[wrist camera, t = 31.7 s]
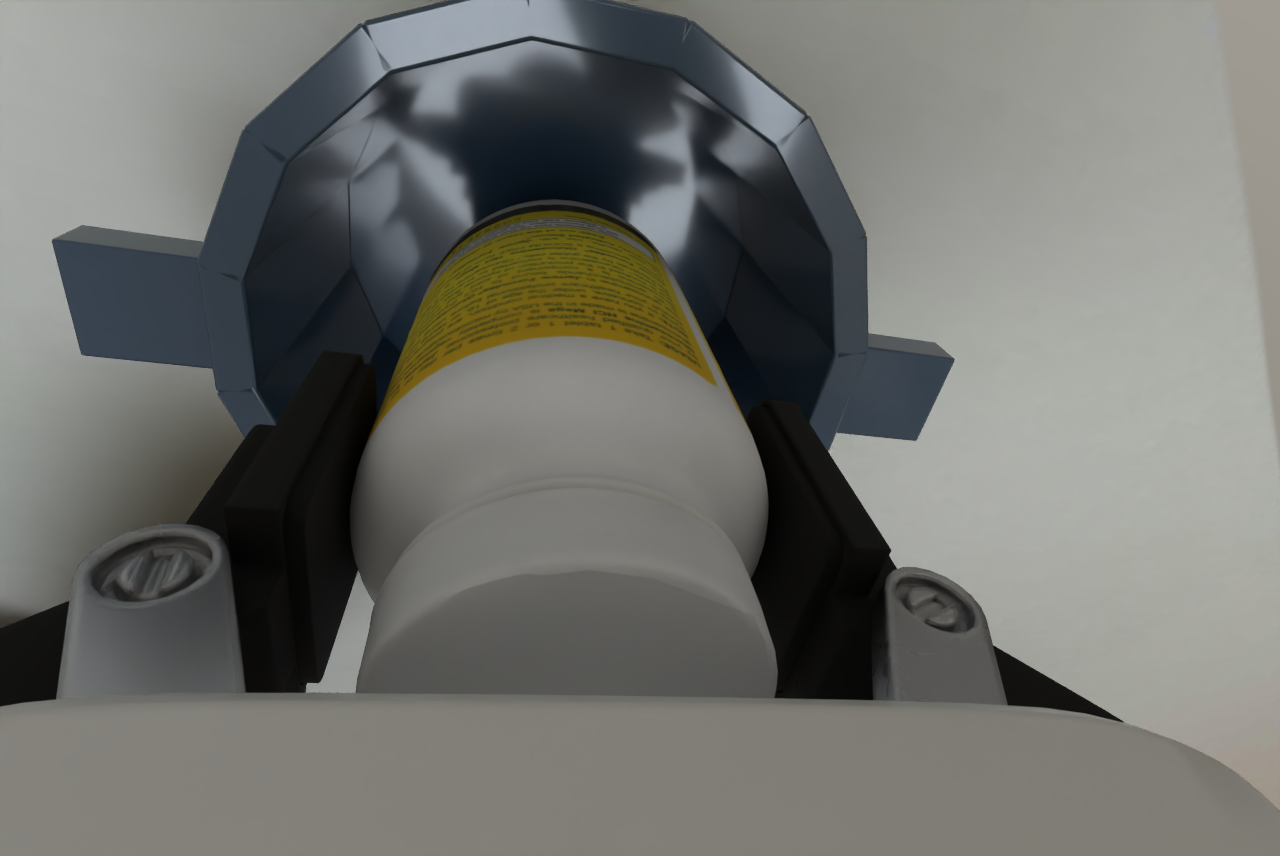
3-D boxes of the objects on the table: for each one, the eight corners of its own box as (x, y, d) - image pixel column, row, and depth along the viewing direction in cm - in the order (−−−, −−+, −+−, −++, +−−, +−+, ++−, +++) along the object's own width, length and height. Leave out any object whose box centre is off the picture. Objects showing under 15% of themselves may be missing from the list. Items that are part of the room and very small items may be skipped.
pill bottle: (372, 308, 16) (127, 731, 7) (569, 132, 14) (614, 358, 5) (547, 465, 19) (550, 908, 10) (726, 334, 17) (935, 708, 8)
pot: (191, -86, 16) (-91, -161, 9) (900, 75, 20) (1100, 112, 13) (251, 403, 23) (118, 582, 16) (769, 451, 27) (852, 614, 20)
